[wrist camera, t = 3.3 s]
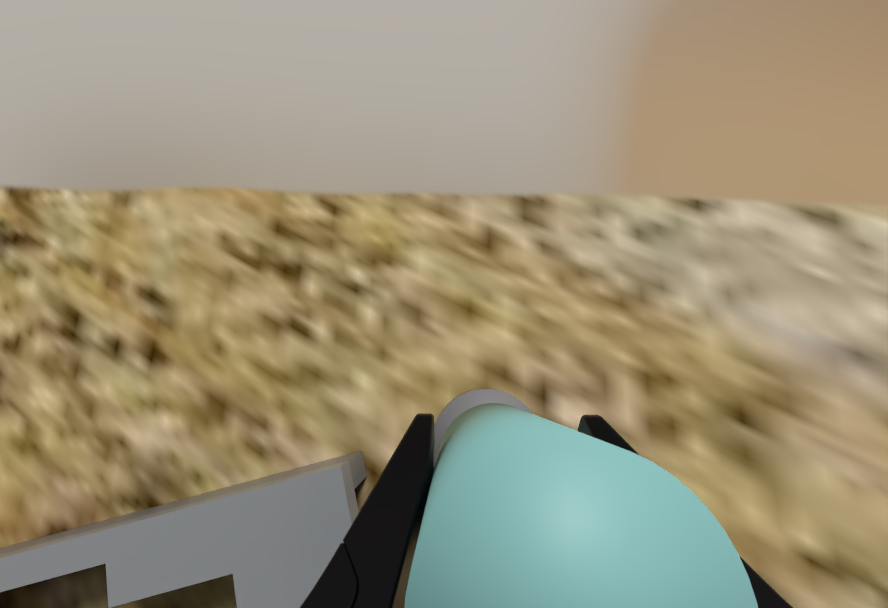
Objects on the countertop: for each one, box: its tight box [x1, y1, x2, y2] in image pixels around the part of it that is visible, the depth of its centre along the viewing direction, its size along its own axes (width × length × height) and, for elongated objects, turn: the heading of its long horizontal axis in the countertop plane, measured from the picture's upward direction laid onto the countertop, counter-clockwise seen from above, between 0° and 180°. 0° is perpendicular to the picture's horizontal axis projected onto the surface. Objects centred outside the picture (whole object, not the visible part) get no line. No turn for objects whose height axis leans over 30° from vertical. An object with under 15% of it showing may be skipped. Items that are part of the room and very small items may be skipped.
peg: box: [404, 389, 758, 608], centre depth 10 cm, size 4×4×12 cm
